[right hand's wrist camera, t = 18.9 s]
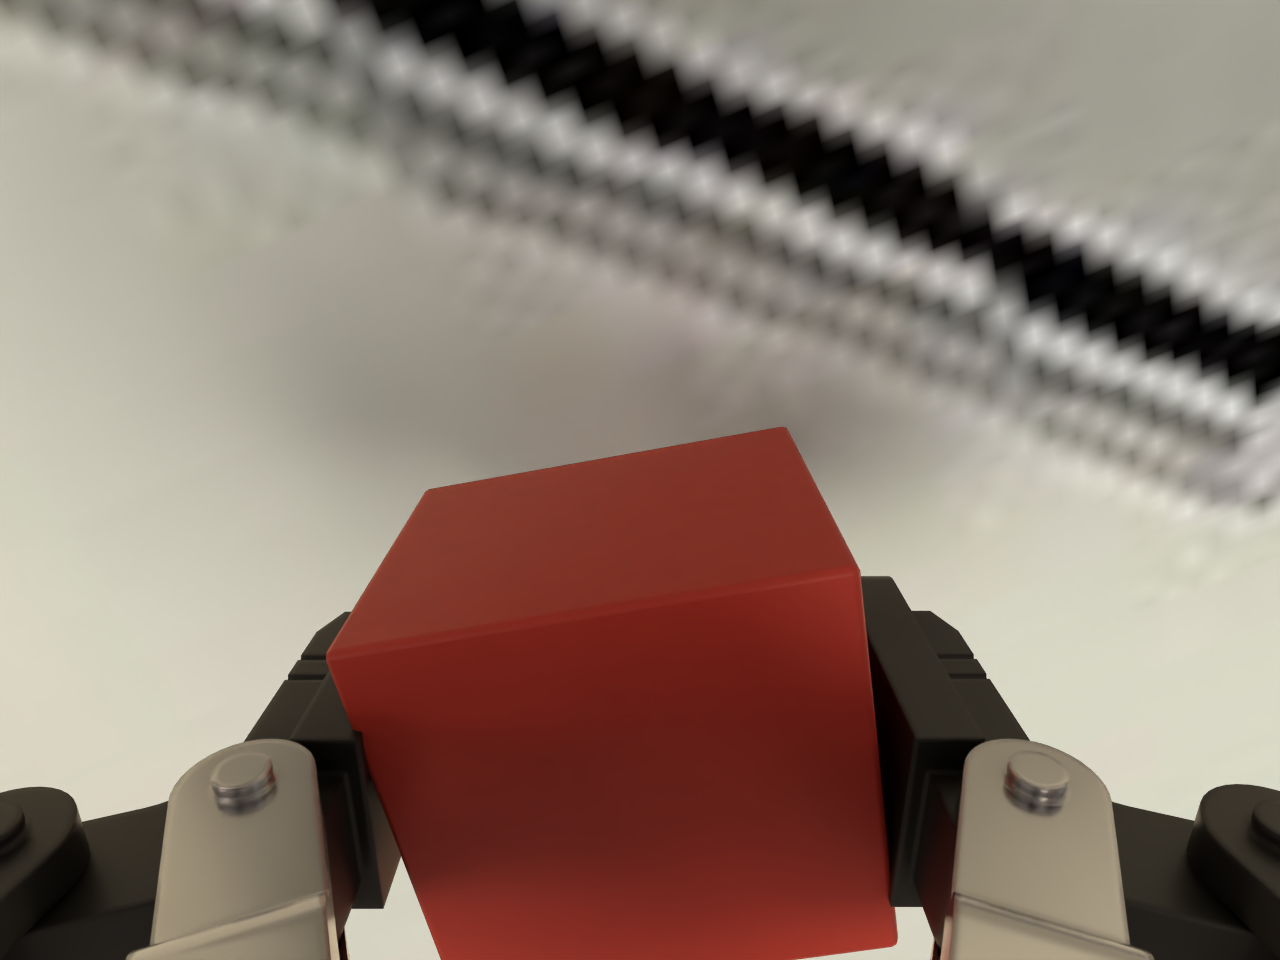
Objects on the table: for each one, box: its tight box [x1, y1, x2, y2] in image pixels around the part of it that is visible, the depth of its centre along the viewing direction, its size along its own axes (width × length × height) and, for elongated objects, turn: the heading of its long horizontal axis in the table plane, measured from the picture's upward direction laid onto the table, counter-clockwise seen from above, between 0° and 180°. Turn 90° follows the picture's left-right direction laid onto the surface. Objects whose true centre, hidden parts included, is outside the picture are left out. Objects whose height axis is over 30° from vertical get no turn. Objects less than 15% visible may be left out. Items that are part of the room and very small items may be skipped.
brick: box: [326, 427, 898, 960], centre depth 11 cm, size 5×5×4 cm
